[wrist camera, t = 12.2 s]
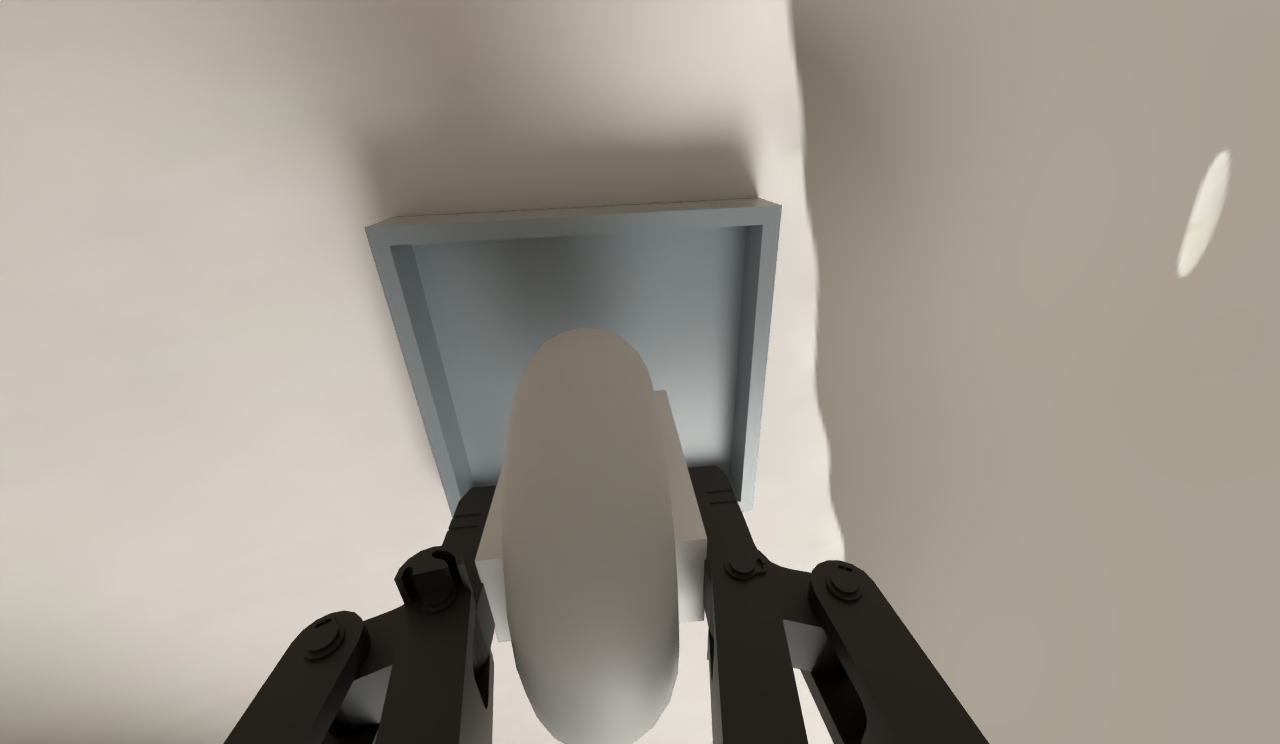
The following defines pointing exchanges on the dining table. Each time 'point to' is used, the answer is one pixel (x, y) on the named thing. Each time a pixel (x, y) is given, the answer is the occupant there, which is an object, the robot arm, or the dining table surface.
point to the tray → (584, 317)
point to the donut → (590, 541)
